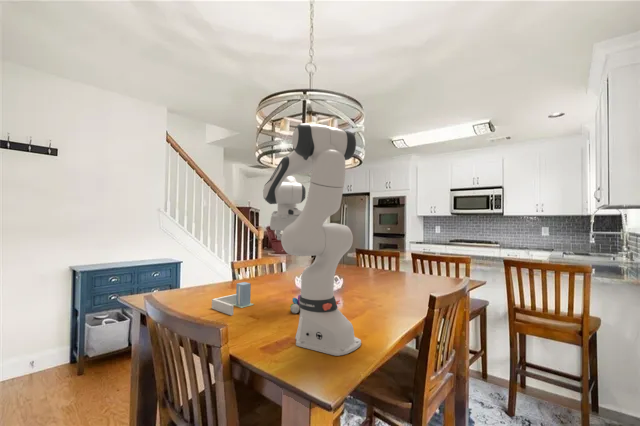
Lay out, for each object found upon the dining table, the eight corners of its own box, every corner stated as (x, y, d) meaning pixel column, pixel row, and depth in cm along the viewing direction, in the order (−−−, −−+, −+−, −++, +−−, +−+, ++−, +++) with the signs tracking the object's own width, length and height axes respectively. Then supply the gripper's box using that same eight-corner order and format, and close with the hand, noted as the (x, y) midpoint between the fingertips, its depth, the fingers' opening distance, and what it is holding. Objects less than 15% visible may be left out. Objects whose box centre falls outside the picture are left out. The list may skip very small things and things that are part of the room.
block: (250, 304, 145) (250, 283, 145) (242, 306, 142) (242, 285, 142) (244, 302, 148) (244, 282, 148) (236, 304, 145) (236, 283, 145)
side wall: (233, 314, 131) (233, 305, 131) (230, 315, 130) (231, 305, 130) (215, 308, 139) (215, 299, 139) (213, 308, 138) (213, 299, 138)
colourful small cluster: (310, 316, 132) (310, 298, 131) (287, 314, 133) (287, 296, 133) (314, 309, 140) (314, 293, 140) (293, 308, 142) (293, 291, 142)
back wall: (243, 301, 151) (243, 292, 151) (213, 308, 138) (213, 299, 138) (242, 300, 151) (242, 292, 151) (211, 308, 139) (211, 299, 139)
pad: (254, 304, 146) (254, 304, 146) (241, 308, 140) (241, 307, 140) (244, 301, 150) (244, 301, 150) (232, 304, 145) (232, 304, 145)
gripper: (267, 210, 154) (266, 239, 154) (297, 211, 141) (297, 242, 141) (276, 211, 159) (276, 238, 159) (307, 211, 146) (306, 241, 146)
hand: (286, 240), depth 150 cm, fingers open, 8 cm apart
